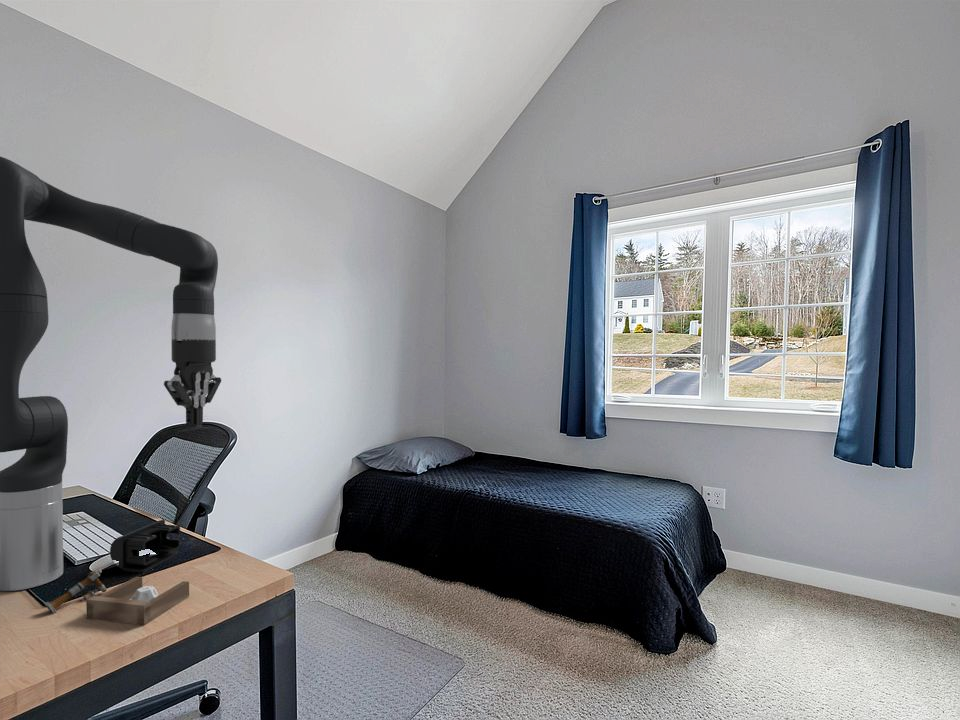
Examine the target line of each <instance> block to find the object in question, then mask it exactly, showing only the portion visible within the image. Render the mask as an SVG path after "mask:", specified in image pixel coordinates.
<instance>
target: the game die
mask: <svg viewBox="0 0 960 720" xmlns="http://www.w3.org/2000/svg"><path fill="white" fill-rule="evenodd" d="M157 596H159V593H158V590H157V589H156V588H155V587H154V586H153V585H144V586H142V587H141V588H139V589H137V590H136V592H135V593H134V595H133V596H132V598H131V600H138V601H147V602H149V601H150V600H152V599H154V598H155V597H157Z"/></svg>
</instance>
